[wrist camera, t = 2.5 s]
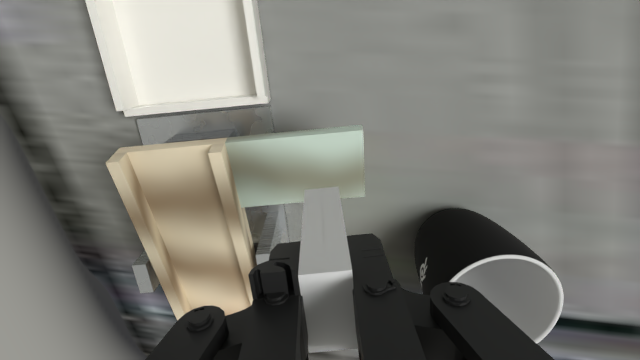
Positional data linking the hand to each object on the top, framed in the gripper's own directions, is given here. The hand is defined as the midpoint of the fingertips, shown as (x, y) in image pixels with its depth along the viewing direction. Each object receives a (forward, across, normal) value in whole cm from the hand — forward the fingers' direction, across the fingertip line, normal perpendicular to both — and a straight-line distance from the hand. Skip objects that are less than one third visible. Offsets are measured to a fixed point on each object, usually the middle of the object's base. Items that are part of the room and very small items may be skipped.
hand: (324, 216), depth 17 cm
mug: (+16, +12, -13) cm, 24 cm away
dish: (+16, -9, +9) cm, 21 cm away
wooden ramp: (+11, -5, -7) cm, 14 cm away
